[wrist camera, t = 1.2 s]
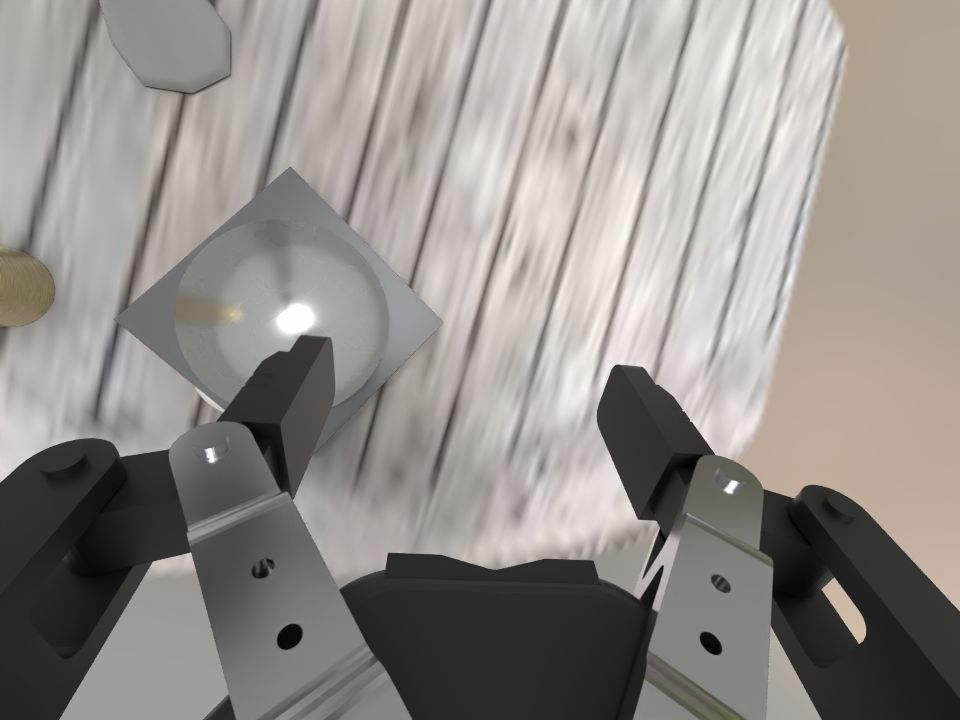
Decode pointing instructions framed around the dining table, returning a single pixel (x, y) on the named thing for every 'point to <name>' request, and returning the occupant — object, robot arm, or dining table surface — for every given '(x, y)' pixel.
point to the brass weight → (23, 288)
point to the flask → (170, 41)
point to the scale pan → (279, 304)
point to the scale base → (302, 203)
